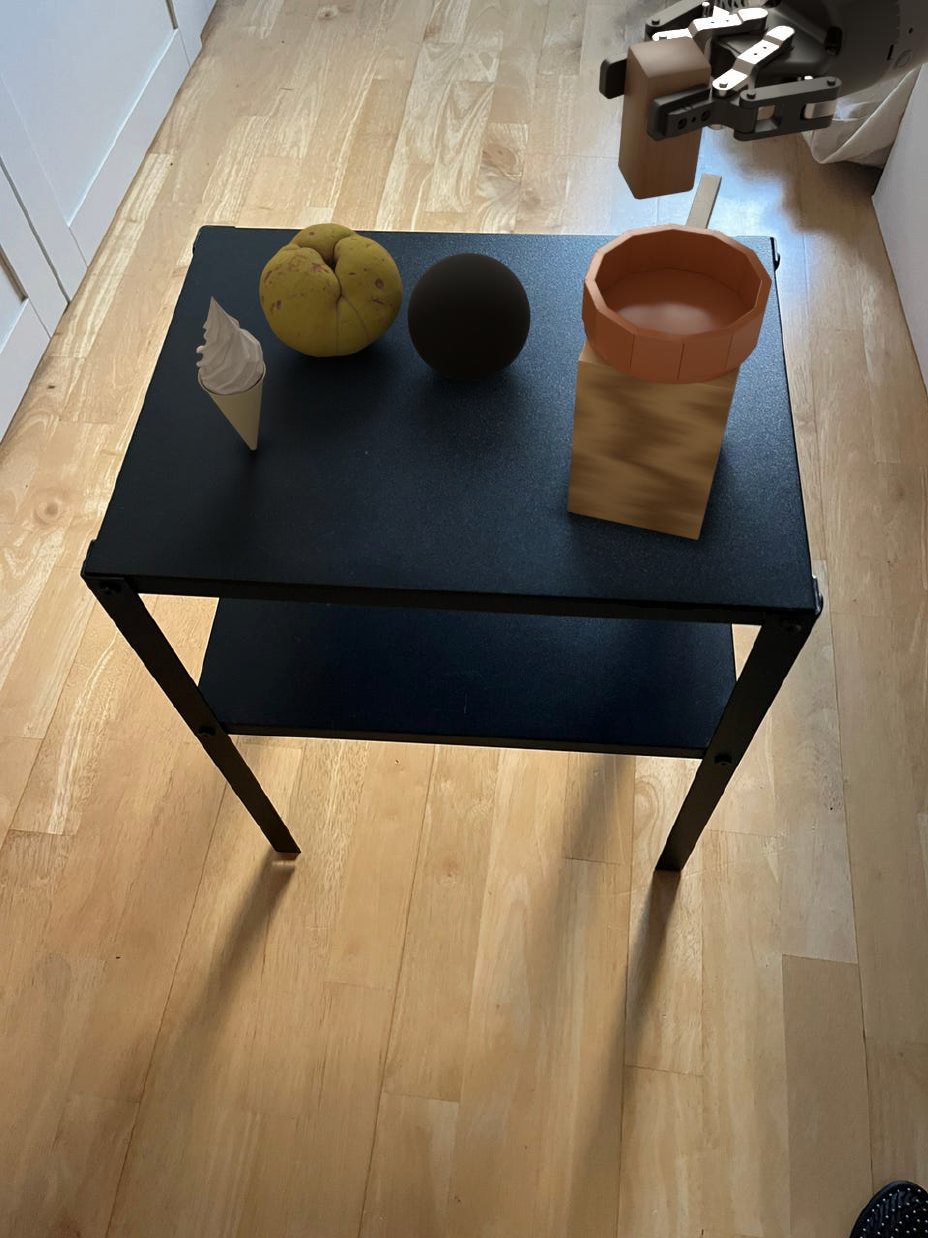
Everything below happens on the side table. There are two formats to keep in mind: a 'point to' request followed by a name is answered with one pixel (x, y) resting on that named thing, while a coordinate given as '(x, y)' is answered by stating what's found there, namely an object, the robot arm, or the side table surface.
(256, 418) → the ice cream cone
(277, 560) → the side table surface
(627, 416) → the stand
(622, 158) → the wooden block
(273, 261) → the fruit
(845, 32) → the robot arm
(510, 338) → the decorative ball
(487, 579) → the side table surface
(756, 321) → the pan
